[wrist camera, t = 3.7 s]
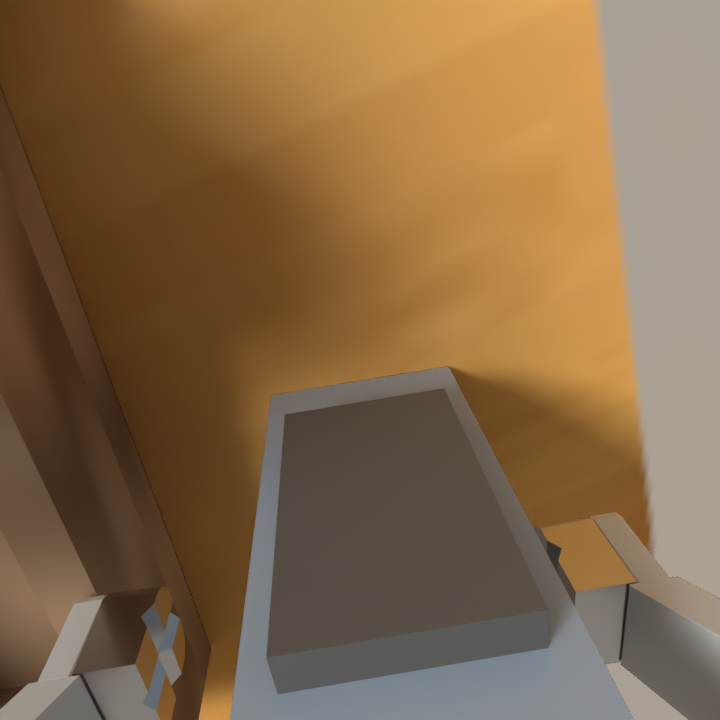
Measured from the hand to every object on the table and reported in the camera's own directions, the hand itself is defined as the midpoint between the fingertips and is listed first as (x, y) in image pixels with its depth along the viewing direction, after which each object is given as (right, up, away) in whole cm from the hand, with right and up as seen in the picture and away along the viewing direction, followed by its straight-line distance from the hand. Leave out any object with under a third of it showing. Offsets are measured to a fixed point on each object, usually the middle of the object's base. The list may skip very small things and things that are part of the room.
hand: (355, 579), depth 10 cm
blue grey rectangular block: (0, +2, +3) cm, 3 cm away
